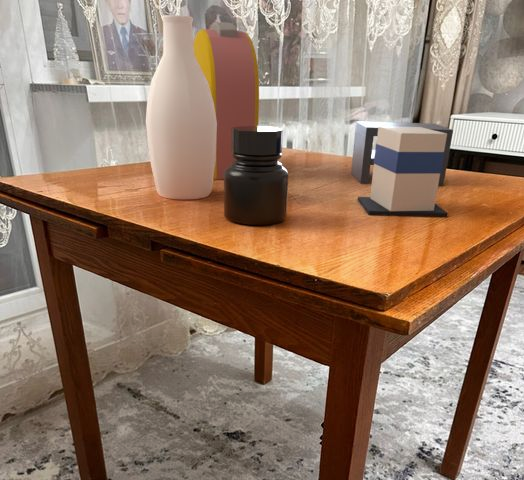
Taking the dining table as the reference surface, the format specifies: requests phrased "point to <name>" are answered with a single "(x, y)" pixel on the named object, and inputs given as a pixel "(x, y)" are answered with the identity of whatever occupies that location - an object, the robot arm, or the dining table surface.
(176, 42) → the bottle
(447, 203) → the dining table surface
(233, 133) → the ink bottle
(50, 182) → the dining table surface
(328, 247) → the dining table surface
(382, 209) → the mat
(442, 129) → the shelf
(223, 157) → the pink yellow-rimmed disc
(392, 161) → the box
